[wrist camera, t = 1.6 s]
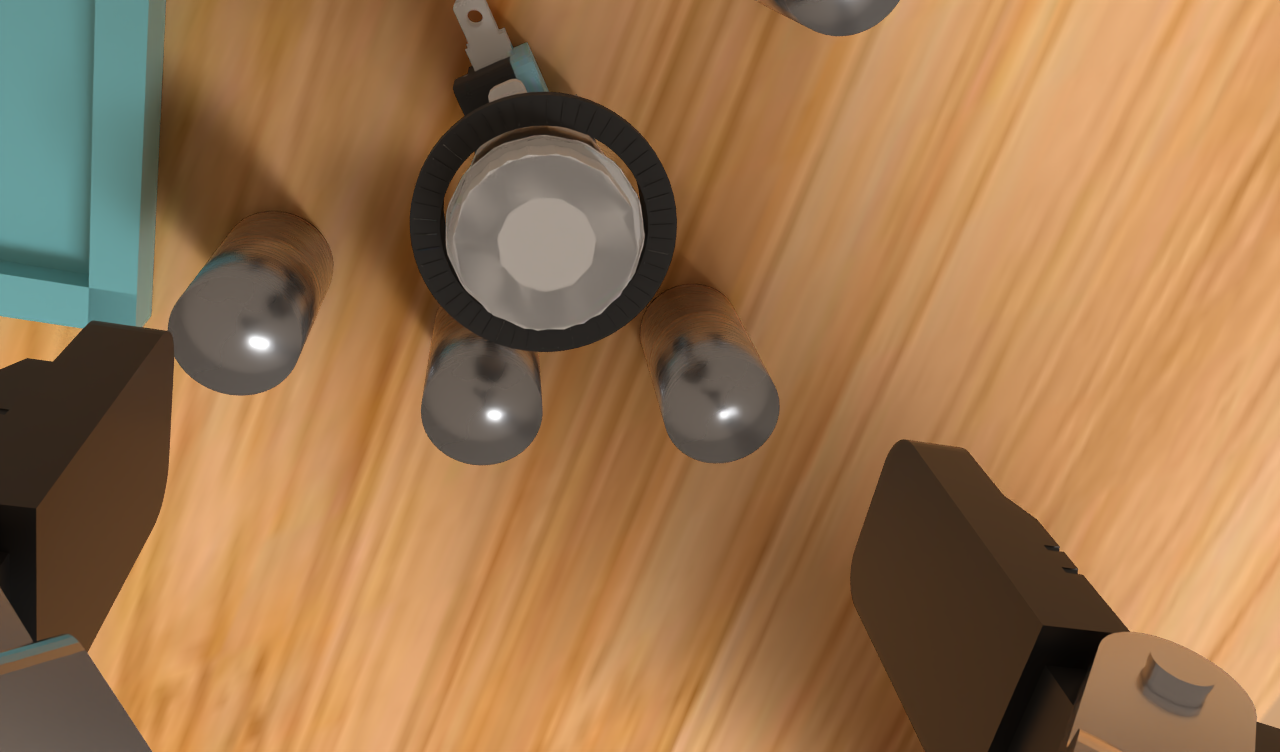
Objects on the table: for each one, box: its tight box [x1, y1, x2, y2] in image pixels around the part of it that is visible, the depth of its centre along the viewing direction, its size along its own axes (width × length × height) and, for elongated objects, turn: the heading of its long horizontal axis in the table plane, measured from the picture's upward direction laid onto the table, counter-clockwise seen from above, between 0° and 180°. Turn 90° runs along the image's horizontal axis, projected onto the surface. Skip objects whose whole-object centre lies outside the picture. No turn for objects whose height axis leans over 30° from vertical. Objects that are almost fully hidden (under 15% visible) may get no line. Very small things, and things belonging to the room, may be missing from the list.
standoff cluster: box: [168, 0, 899, 465], centre depth 27 cm, size 15×15×6 cm
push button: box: [410, 0, 677, 352], centre depth 25 cm, size 7×5×10 cm
